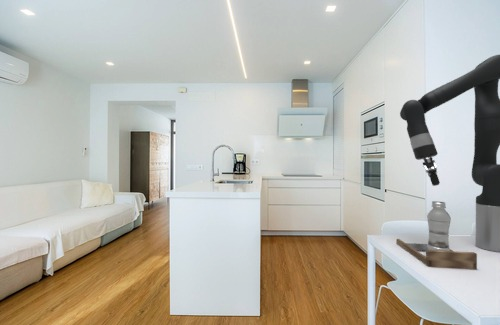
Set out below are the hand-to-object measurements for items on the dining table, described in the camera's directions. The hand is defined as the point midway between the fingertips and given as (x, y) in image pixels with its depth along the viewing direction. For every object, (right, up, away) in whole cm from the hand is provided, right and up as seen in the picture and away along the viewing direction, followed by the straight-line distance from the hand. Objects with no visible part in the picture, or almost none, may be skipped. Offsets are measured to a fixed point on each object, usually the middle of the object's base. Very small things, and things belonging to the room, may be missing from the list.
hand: (436, 184), depth 94 cm
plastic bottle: (-8, -25, -11) cm, 29 cm away
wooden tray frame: (-7, -25, -7) cm, 27 cm away
